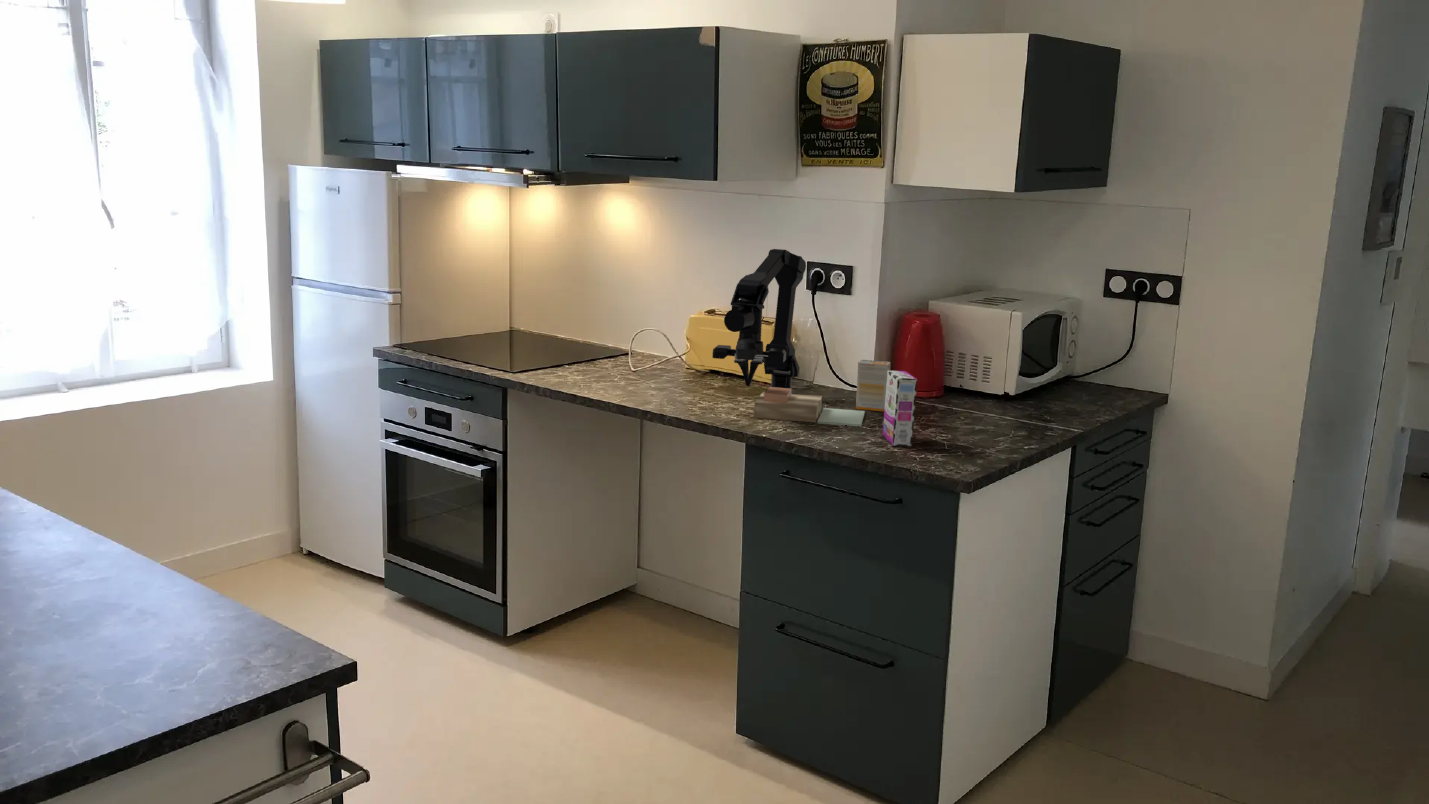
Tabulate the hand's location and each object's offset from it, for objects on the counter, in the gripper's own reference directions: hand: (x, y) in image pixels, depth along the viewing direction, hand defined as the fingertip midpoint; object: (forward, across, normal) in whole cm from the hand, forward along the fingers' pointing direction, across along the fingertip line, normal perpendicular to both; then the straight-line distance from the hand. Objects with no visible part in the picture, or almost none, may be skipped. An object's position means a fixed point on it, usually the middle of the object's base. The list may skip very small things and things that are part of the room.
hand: (748, 386), depth 293 cm
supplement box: (+7, +32, +14) cm, 36 cm away
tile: (+3, +8, 0) cm, 8 cm away
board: (+7, +11, 0) cm, 13 cm away
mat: (+7, +25, 0) cm, 26 cm away
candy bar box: (+7, +40, -20) cm, 45 cm away
